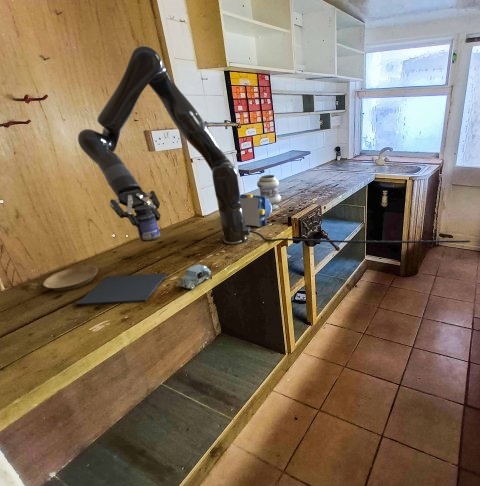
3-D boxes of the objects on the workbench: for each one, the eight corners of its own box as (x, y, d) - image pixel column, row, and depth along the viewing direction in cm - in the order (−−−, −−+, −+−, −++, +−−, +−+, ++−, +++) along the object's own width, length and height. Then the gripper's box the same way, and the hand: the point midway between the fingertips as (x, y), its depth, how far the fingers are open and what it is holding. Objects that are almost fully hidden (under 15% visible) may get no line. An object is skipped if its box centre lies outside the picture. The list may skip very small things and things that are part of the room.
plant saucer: (41, 284, 105) (38, 278, 104) (92, 267, 115) (90, 261, 114) (52, 300, 96) (49, 293, 95) (106, 280, 106) (103, 273, 105)
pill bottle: (164, 236, 107) (157, 205, 102) (150, 243, 102) (141, 211, 97) (151, 234, 109) (142, 203, 104) (136, 241, 103) (126, 209, 99)
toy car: (179, 289, 100) (175, 275, 98) (202, 274, 108) (199, 262, 106) (194, 293, 97) (190, 279, 95) (216, 278, 106) (214, 265, 104)
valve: (261, 227, 146) (260, 195, 142) (235, 224, 151) (233, 193, 147) (276, 222, 158) (275, 192, 154) (251, 219, 163) (249, 190, 159)
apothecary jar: (255, 210, 172) (251, 178, 164) (267, 204, 182) (264, 173, 174) (274, 212, 167) (271, 179, 160) (285, 206, 177) (282, 174, 170)
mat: (166, 274, 109) (166, 273, 108) (145, 301, 94) (145, 299, 94) (108, 278, 108) (107, 276, 107) (77, 305, 93) (76, 303, 93)
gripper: (98, 178, 95) (126, 222, 94) (146, 170, 106) (172, 210, 104) (97, 193, 101) (123, 235, 99) (142, 184, 111) (167, 221, 109)
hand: (148, 222), depth 102 cm, fingers closed on pill bottle, 6 cm apart
